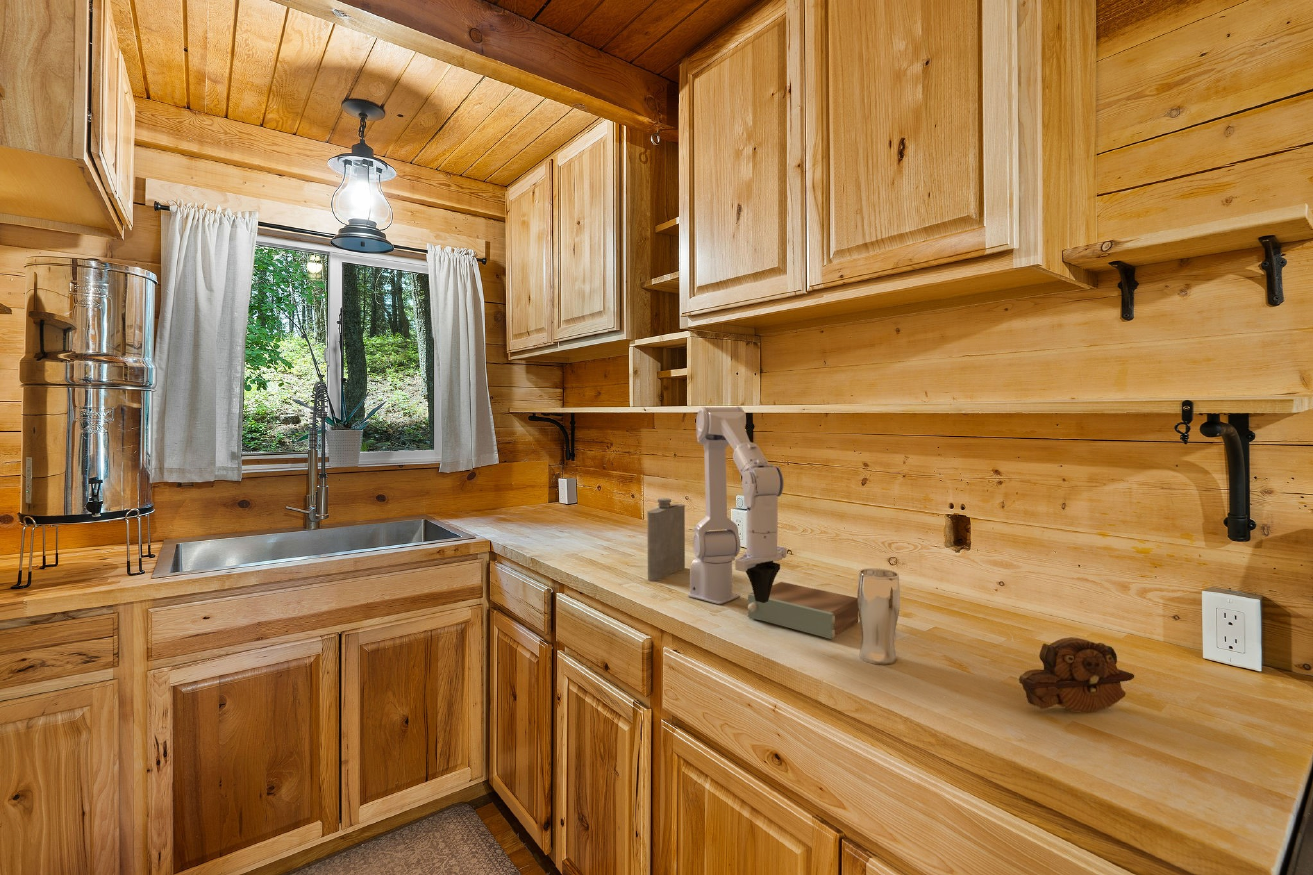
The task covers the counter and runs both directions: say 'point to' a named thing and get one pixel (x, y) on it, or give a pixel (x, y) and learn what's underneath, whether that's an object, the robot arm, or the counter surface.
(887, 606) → the beer glass
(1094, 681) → the wooden carving
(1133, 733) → the counter surface
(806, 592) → the cabinet
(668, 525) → the hip flask
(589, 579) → the counter surface
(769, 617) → the cabinet door
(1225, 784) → the counter surface
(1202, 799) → the counter surface
